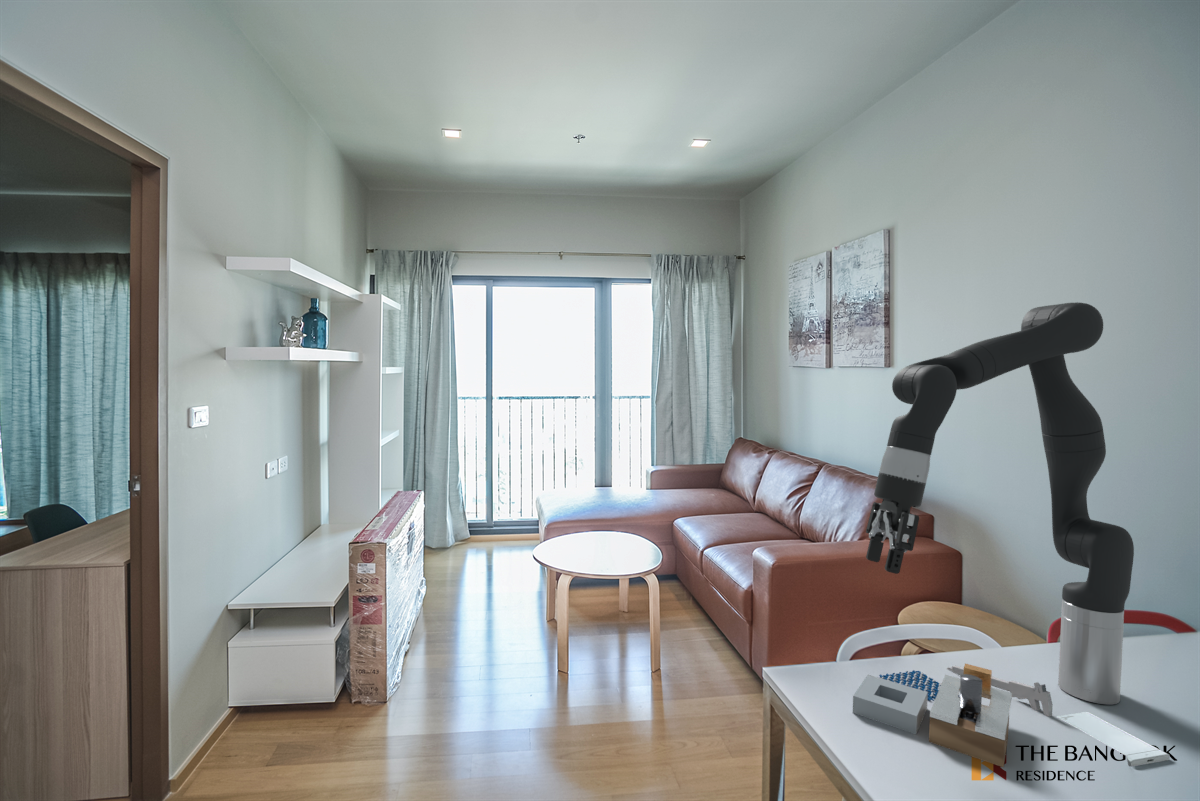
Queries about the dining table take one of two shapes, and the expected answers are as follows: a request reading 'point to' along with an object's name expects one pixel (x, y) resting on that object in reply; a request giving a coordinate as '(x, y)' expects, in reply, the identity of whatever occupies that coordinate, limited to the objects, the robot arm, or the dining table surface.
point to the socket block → (968, 740)
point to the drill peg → (970, 696)
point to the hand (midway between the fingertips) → (881, 566)
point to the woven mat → (916, 682)
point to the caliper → (1021, 691)
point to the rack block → (890, 703)
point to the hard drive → (1116, 739)
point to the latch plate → (991, 716)
